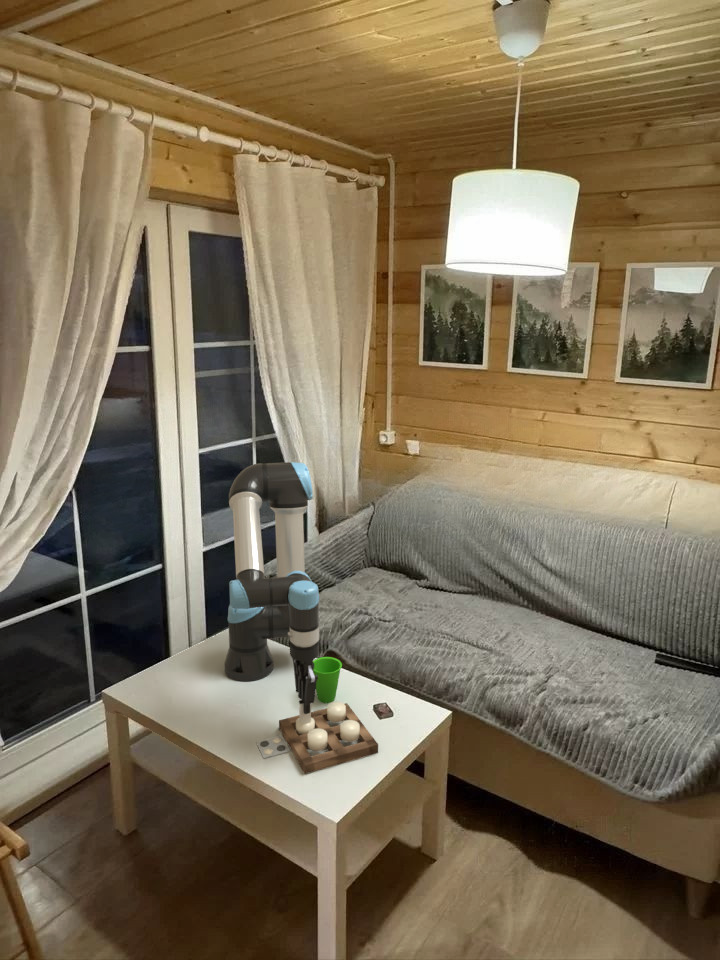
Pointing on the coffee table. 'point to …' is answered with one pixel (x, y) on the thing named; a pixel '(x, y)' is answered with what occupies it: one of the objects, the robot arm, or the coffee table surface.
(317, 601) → the robot arm
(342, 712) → the button back left
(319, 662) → the cup
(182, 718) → the coffee table surface
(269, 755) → the card
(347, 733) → the button front left
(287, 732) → the board
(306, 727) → the button back right
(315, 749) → the button front right
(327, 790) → the coffee table surface
